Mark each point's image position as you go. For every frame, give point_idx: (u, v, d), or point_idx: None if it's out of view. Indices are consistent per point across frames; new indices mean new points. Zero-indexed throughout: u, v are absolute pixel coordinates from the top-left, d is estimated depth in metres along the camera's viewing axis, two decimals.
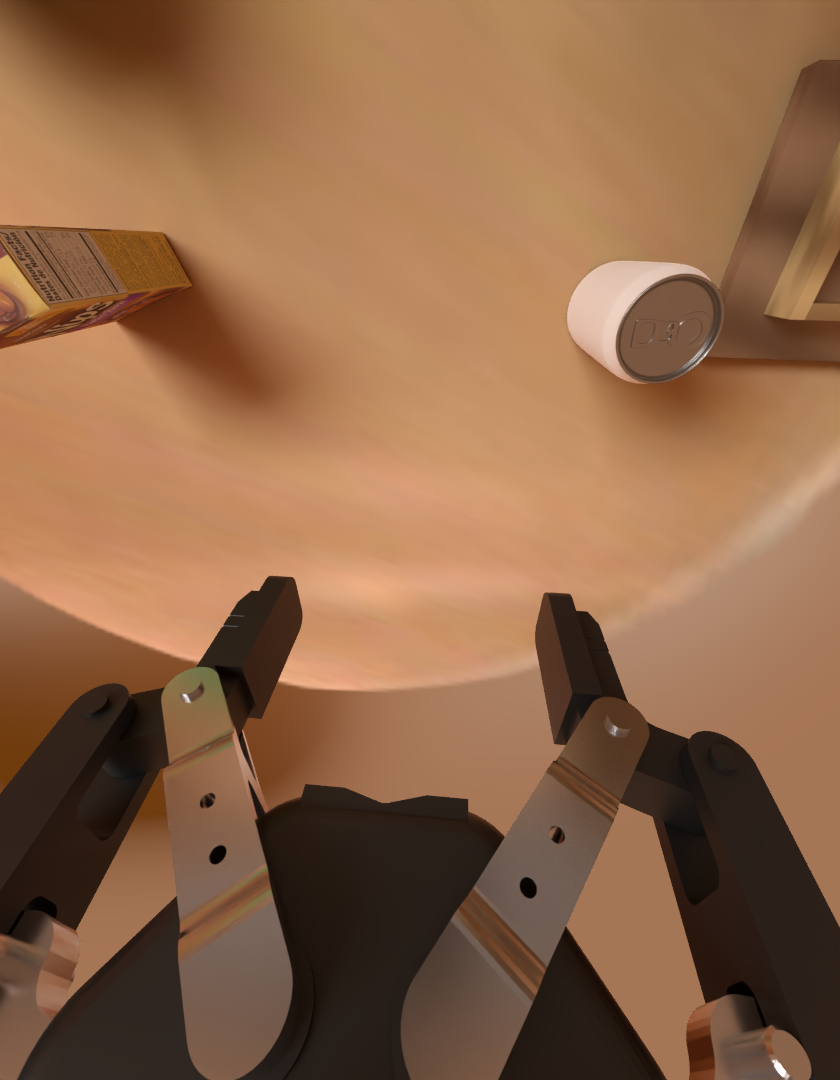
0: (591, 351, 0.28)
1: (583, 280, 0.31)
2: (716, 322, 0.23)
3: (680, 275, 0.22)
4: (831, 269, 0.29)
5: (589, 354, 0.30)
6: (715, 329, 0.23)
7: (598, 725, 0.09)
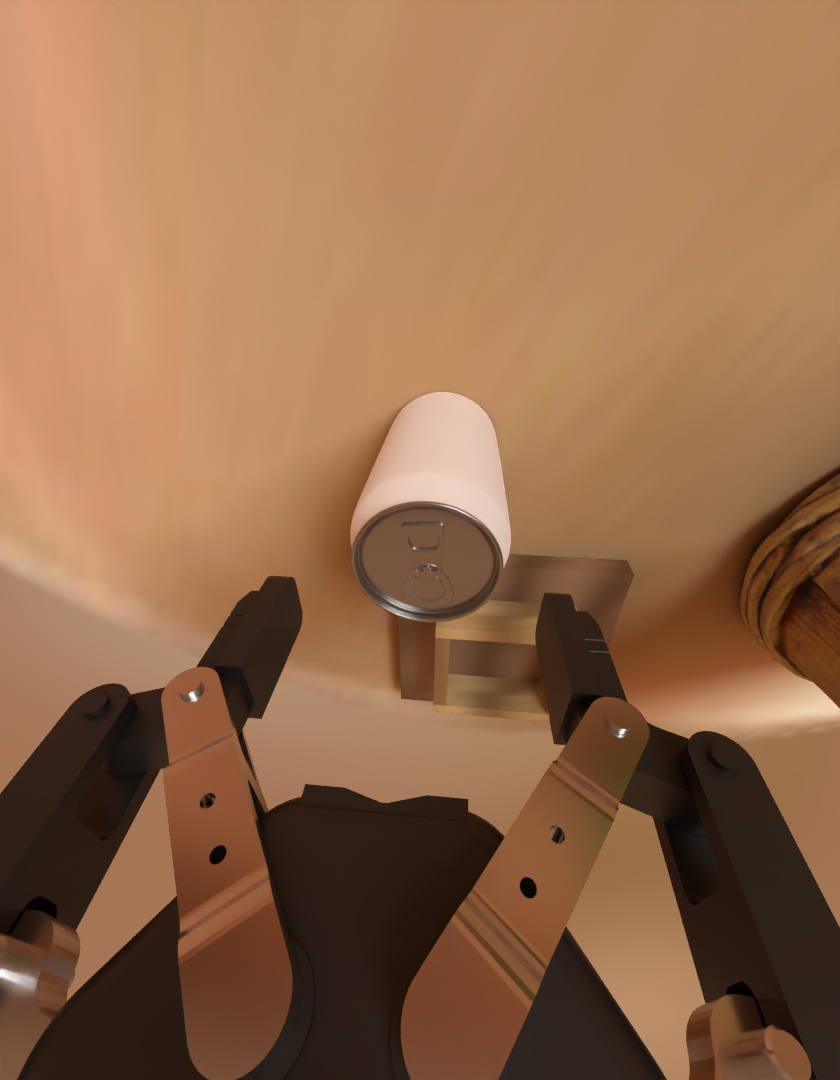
0: (390, 449, 0.18)
1: (477, 407, 0.22)
2: (439, 612, 0.17)
3: (501, 565, 0.15)
4: None
5: (385, 442, 0.20)
6: (431, 614, 0.17)
7: (598, 725, 0.09)
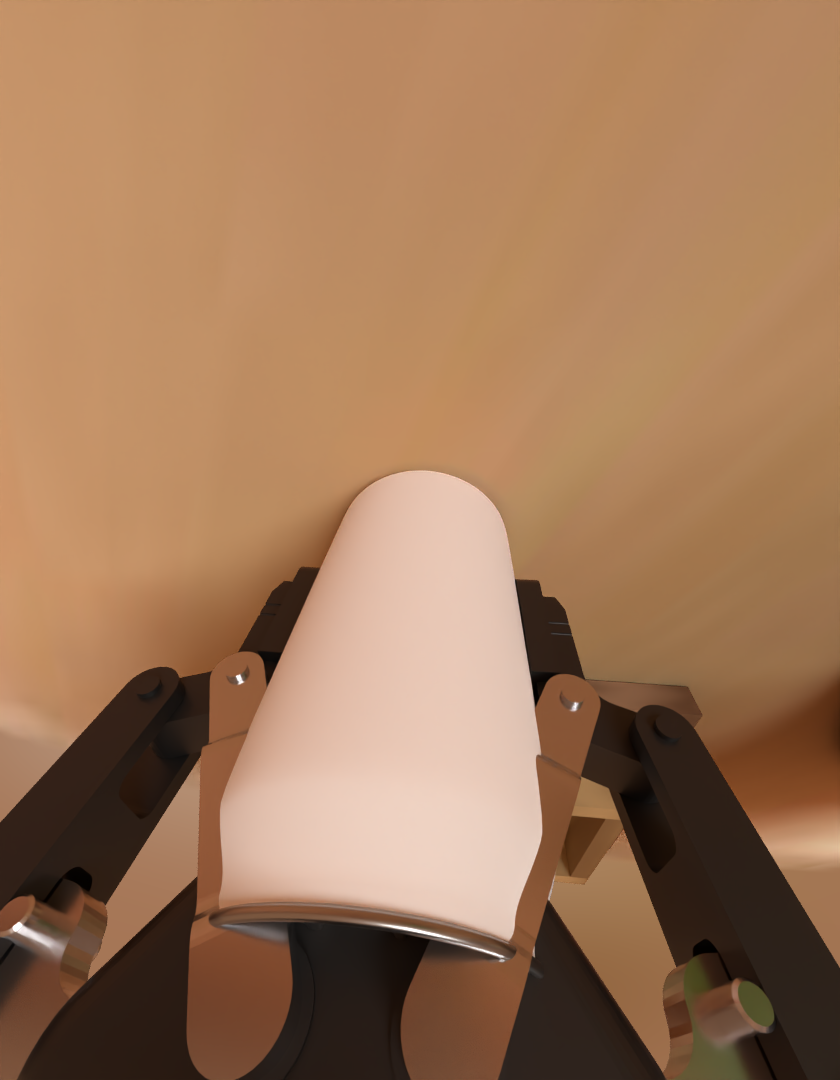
0: (312, 626, 0.09)
1: (479, 495, 0.14)
2: None
3: None
4: None
5: (318, 579, 0.11)
6: None
7: (554, 703, 0.09)
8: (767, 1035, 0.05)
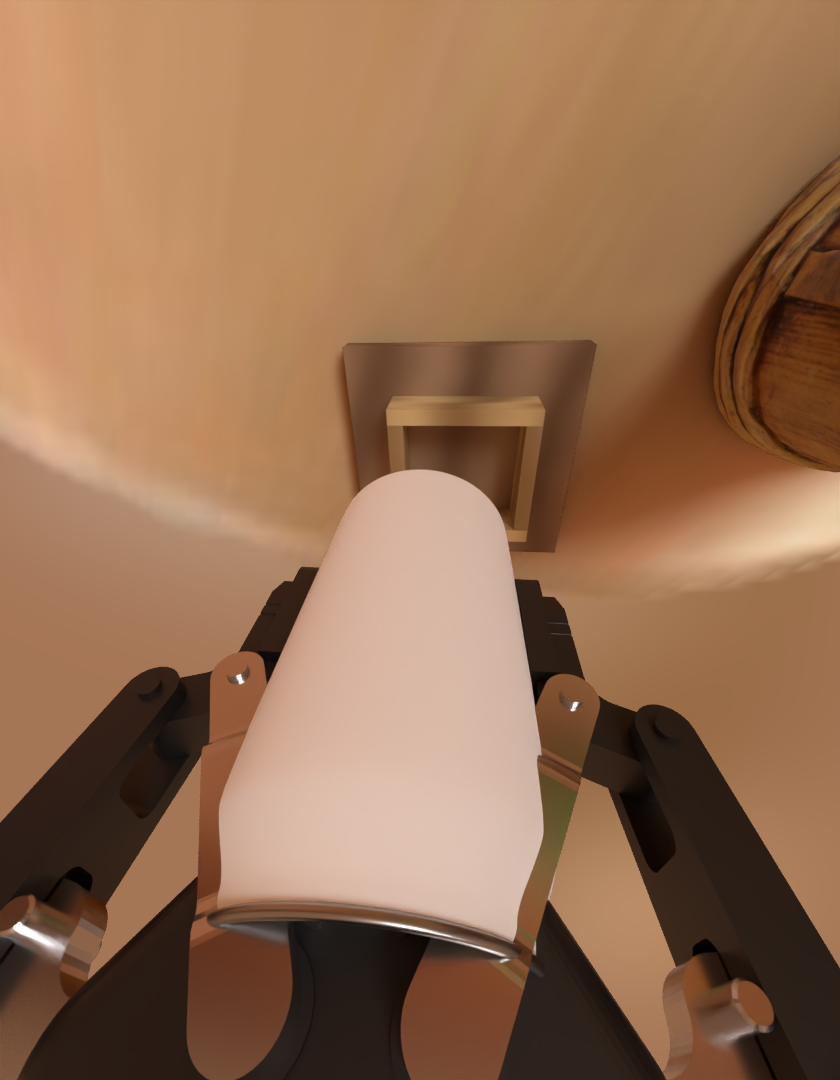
0: (312, 625, 0.09)
1: (478, 494, 0.14)
2: None
3: None
4: (435, 441, 0.30)
5: (318, 578, 0.11)
6: None
7: (554, 702, 0.09)
8: (767, 1035, 0.05)
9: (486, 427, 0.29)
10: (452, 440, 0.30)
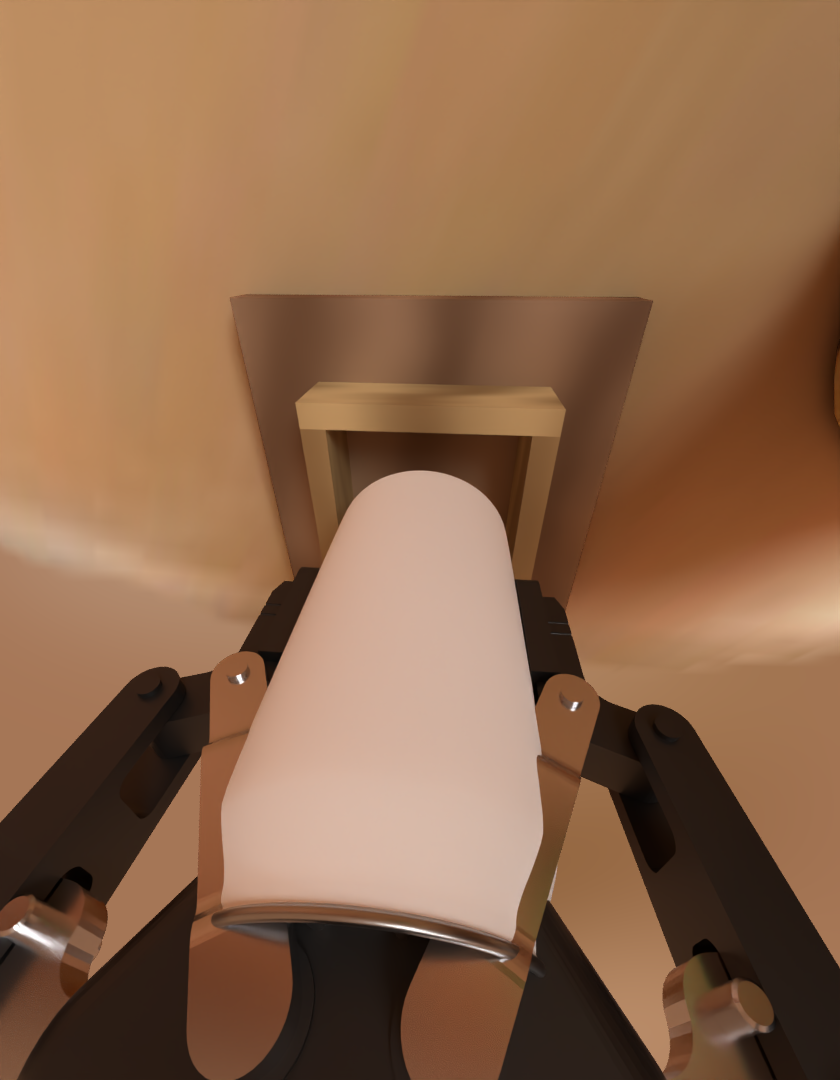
0: (313, 626, 0.09)
1: (478, 495, 0.14)
2: None
3: None
4: (388, 454, 0.19)
5: (318, 579, 0.11)
6: None
7: (554, 702, 0.09)
8: (767, 1035, 0.05)
9: (467, 435, 0.18)
10: (414, 453, 0.19)
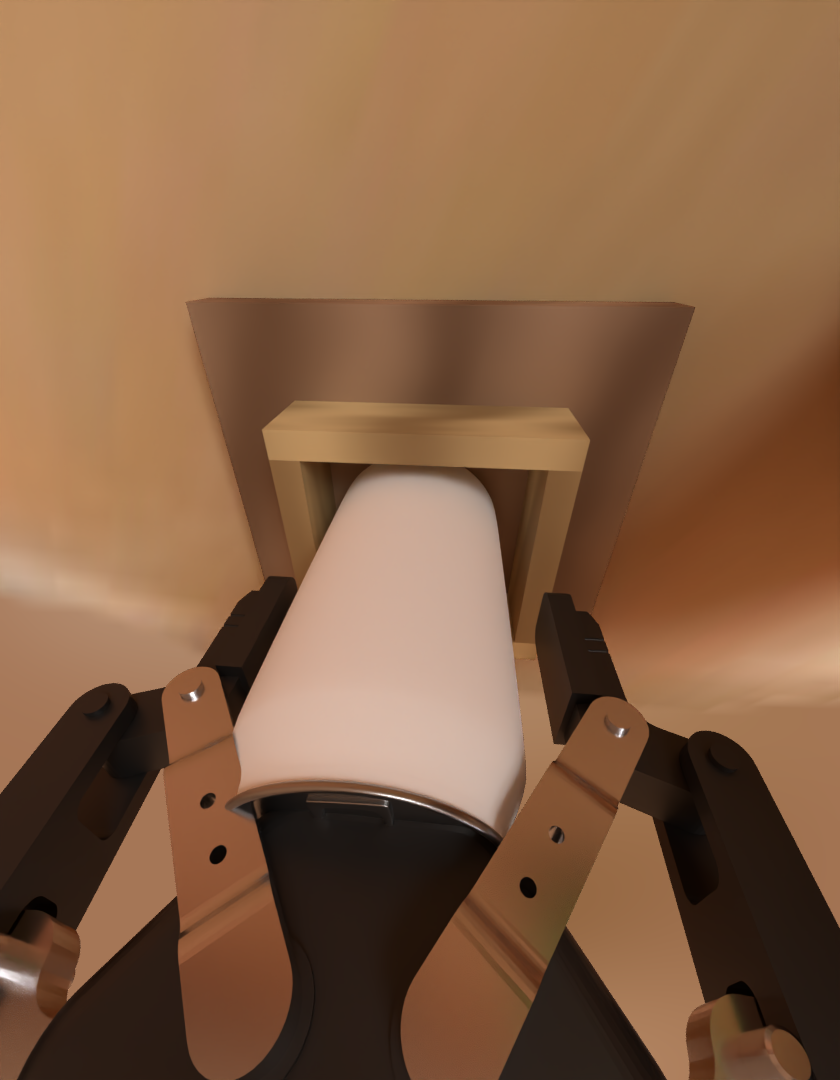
0: (314, 582, 0.10)
1: (468, 475, 0.15)
2: None
3: None
4: None
5: (320, 548, 0.12)
6: None
7: (598, 725, 0.09)
8: None
9: None
10: None
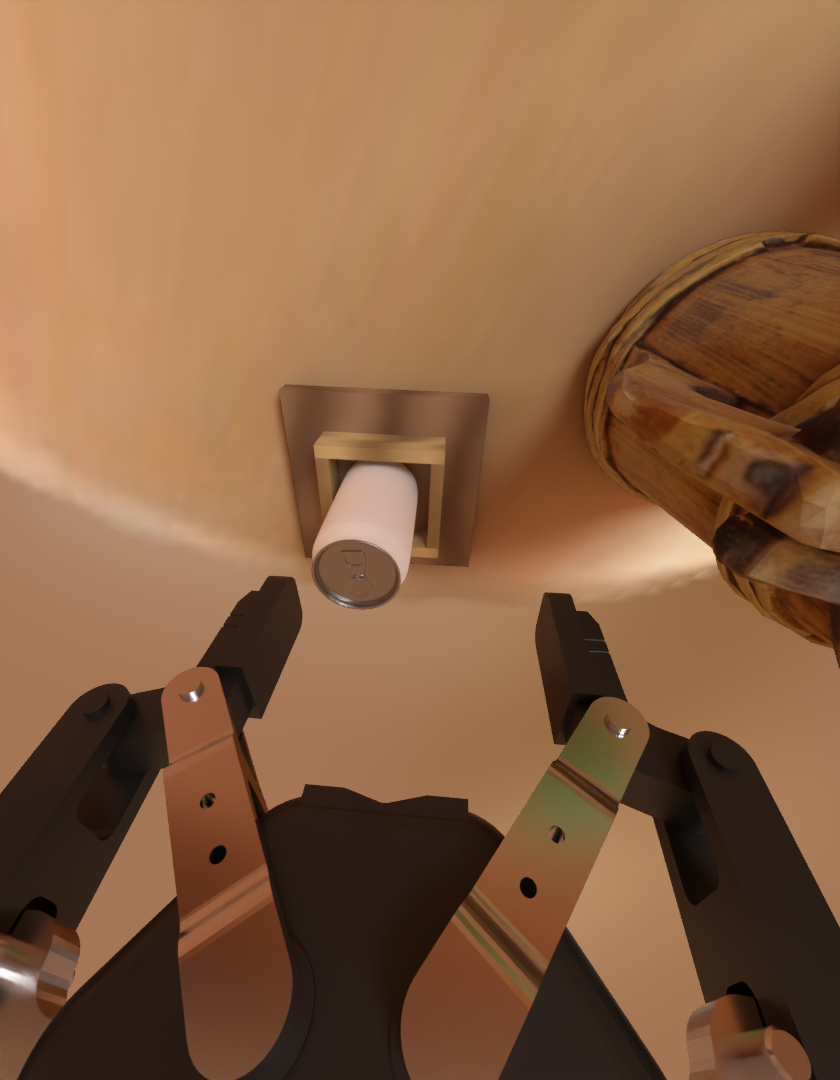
0: (338, 502, 0.28)
1: (402, 466, 0.33)
2: (367, 603, 0.27)
3: (399, 574, 0.25)
4: None
5: (337, 494, 0.30)
6: (362, 604, 0.27)
7: (598, 725, 0.09)
8: None
9: None
10: None
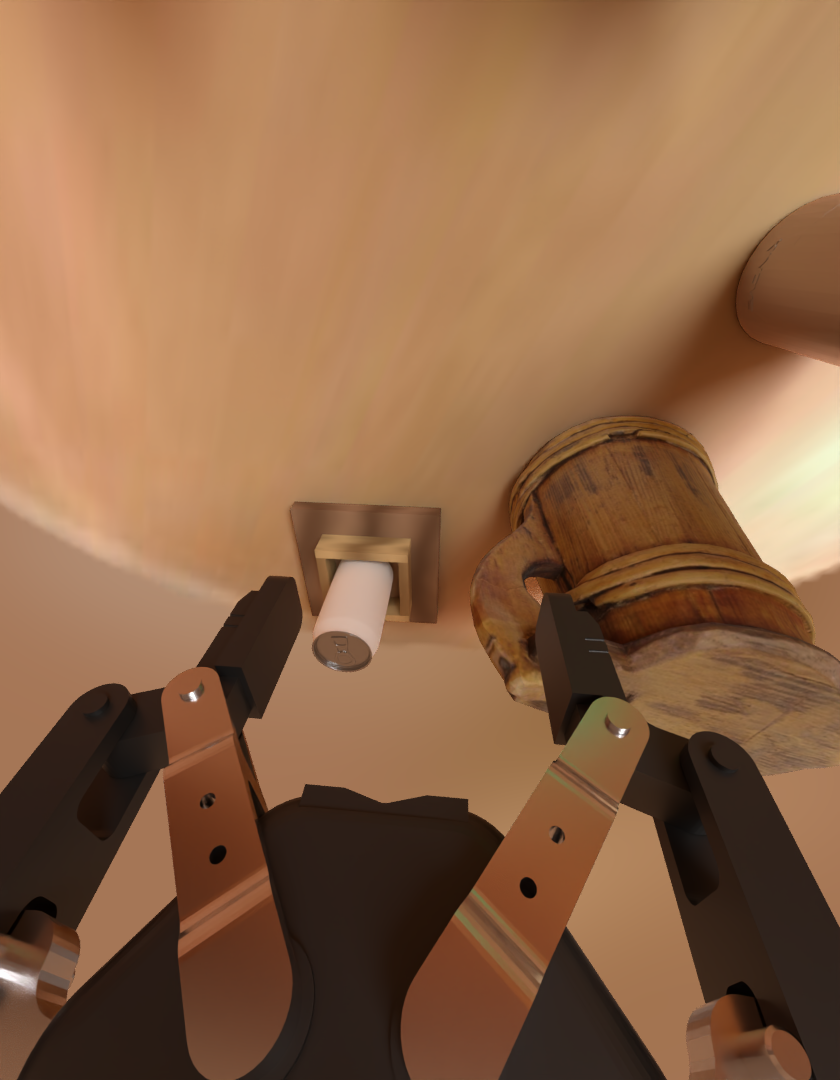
0: (331, 595, 0.40)
1: None
2: (351, 667, 0.40)
3: (370, 652, 0.37)
4: None
5: (331, 585, 0.43)
6: (347, 668, 0.39)
7: (598, 725, 0.09)
8: None
9: None
10: None
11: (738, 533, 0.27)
